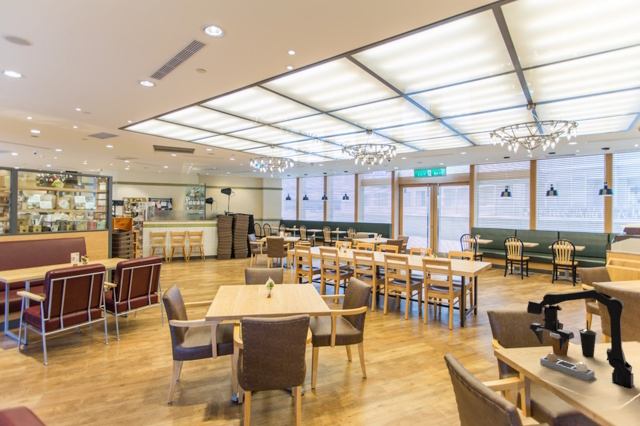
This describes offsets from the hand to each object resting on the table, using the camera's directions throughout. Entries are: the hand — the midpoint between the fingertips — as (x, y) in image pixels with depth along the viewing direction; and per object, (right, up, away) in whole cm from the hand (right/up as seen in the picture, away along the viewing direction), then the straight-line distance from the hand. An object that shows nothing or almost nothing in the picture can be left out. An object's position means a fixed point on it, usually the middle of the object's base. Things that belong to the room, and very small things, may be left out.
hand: (551, 347), depth 170 cm
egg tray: (+3, -10, -6) cm, 12 cm away
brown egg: (0, -9, 0) cm, 9 cm away
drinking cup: (+30, -10, +12) cm, 34 cm away
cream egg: (+7, -9, -12) cm, 16 cm away
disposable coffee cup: (+16, -11, +15) cm, 24 cm away
